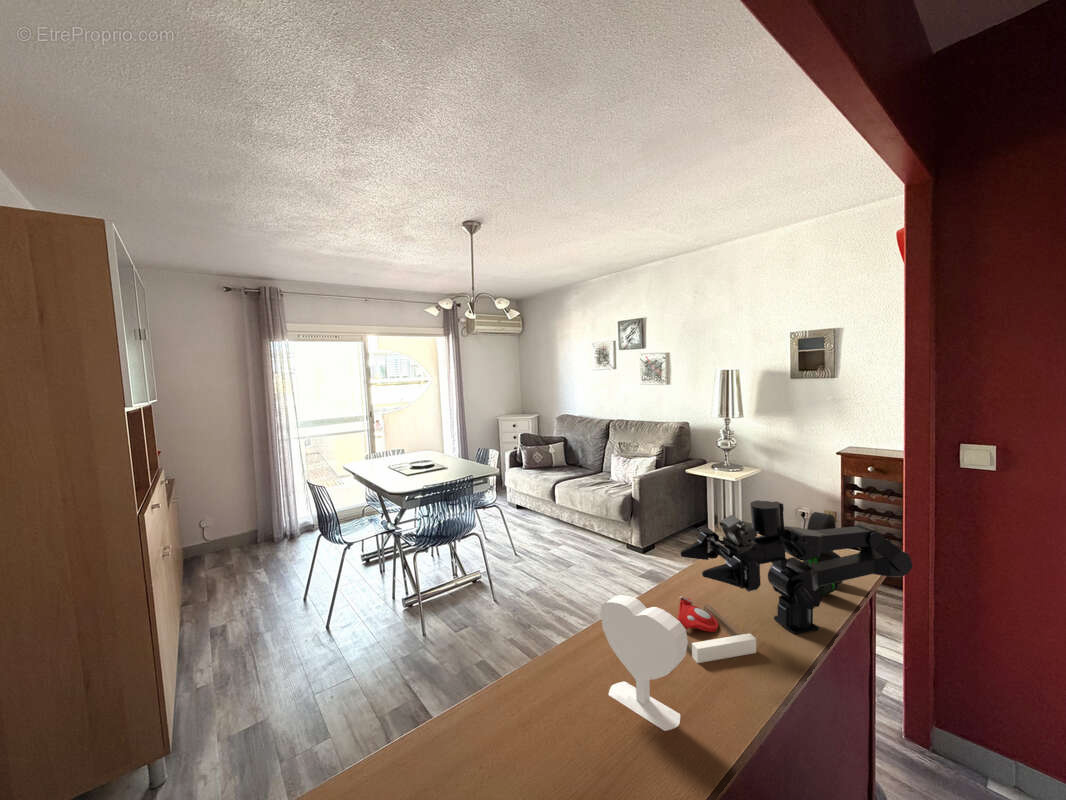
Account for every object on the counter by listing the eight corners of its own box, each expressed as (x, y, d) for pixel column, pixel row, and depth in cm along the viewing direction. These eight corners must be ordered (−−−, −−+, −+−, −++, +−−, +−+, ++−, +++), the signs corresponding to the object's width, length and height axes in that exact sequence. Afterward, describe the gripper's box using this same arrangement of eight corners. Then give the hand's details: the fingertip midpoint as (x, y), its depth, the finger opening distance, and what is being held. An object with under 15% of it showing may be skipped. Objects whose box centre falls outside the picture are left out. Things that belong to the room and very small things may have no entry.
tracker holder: (728, 621, 102) (703, 627, 96) (721, 638, 102) (696, 645, 97) (686, 589, 112) (660, 592, 106) (680, 605, 112) (654, 609, 106)
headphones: (850, 584, 118) (851, 511, 117) (833, 606, 108) (833, 526, 107) (810, 573, 125) (811, 503, 124) (790, 592, 115) (790, 517, 114)
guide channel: (708, 610, 108) (708, 598, 108) (756, 652, 92) (756, 638, 92) (657, 617, 106) (657, 605, 106) (697, 663, 89) (697, 648, 89)
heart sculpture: (691, 720, 75) (689, 617, 74) (675, 737, 71) (674, 630, 70) (616, 676, 86) (614, 586, 85) (599, 689, 83) (597, 596, 82)
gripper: (729, 502, 107) (668, 512, 104) (785, 533, 88) (713, 547, 86) (731, 545, 108) (672, 557, 106) (787, 585, 90) (716, 600, 87)
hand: (691, 563), depth 96 cm, fingers open, 9 cm apart
